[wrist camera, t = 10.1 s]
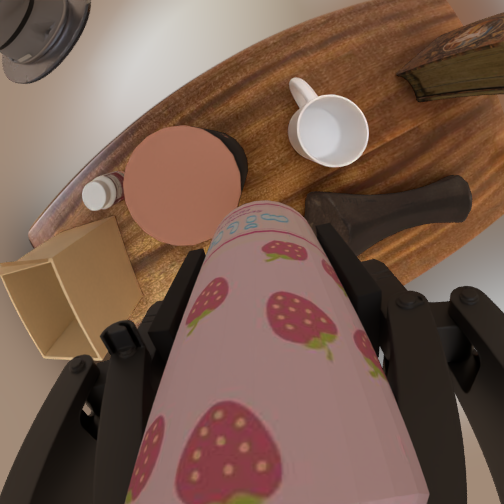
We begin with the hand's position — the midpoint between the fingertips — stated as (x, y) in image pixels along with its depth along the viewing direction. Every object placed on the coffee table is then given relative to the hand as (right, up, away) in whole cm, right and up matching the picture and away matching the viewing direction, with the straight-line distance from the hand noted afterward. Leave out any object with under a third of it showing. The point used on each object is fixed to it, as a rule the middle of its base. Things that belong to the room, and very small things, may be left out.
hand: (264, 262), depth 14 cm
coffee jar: (-6, +13, +26) cm, 30 cm away
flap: (-30, -2, +9) cm, 31 cm away
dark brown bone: (+20, +8, +27) cm, 35 cm away
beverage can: (0, +1, +2) cm, 2 cm away
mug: (+8, +19, +23) cm, 31 cm away
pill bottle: (-21, +11, +27) cm, 36 cm away
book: (+29, +31, +18) cm, 46 cm away
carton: (-28, -1, +32) cm, 42 cm away
